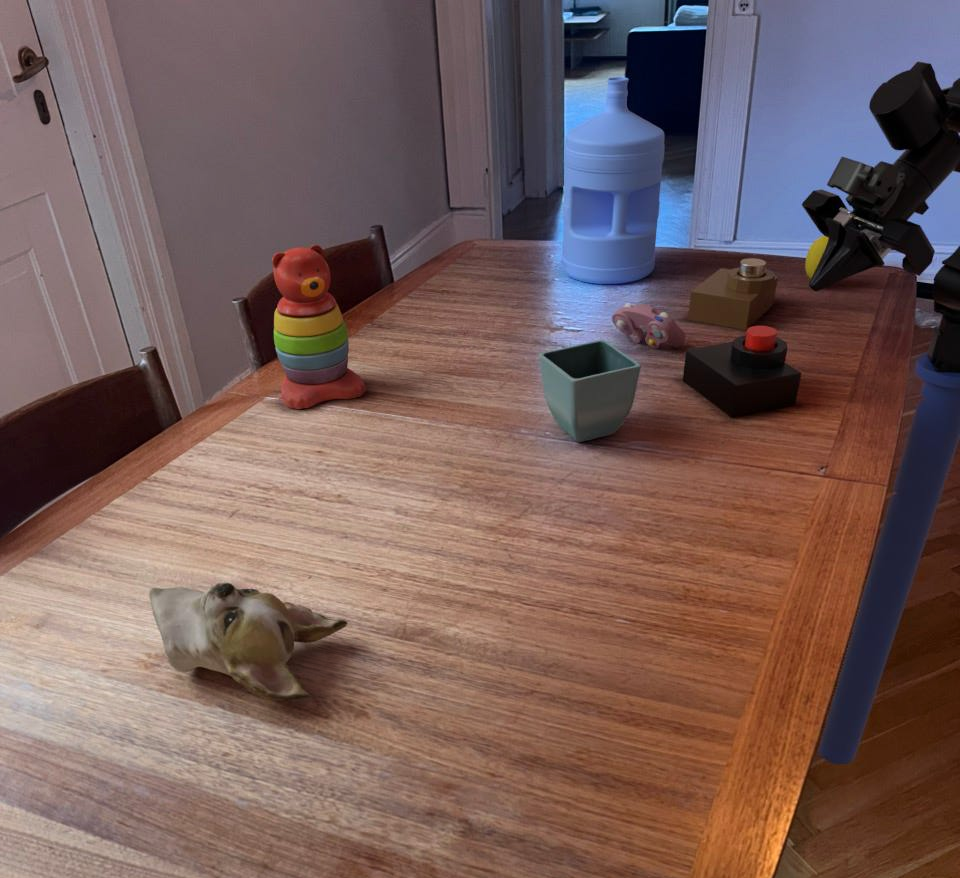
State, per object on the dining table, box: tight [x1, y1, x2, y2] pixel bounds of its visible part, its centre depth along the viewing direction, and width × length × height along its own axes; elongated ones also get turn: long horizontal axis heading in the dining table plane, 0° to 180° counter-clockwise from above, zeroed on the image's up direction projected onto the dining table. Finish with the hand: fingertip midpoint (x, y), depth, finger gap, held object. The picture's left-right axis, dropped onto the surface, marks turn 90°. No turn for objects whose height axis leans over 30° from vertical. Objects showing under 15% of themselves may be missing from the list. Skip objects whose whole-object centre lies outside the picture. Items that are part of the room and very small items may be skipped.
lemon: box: [804, 235, 829, 280], centre depth 143 cm, size 6×6×8 cm
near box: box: [682, 334, 803, 419], centre depth 114 cm, size 10×12×6 cm
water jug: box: [560, 76, 666, 285], centre depth 146 cm, size 16×16×28 cm
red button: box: [745, 325, 778, 351], centre depth 113 cm, size 4×4×2 cm
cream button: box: [738, 257, 767, 278], centre depth 133 cm, size 4×4×2 cm
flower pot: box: [538, 339, 642, 443], centre depth 106 cm, size 9×9×9 cm
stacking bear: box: [271, 244, 367, 410], centre depth 115 cm, size 11×10×18 cm
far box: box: [687, 266, 779, 331], centre depth 136 cm, size 10×12×6 cm
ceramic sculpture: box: [148, 582, 348, 702], centre depth 75 cm, size 11×9×15 cm
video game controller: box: [611, 302, 686, 350], centre depth 128 cm, size 10×5×7 cm, turn 47°
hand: (812, 288), depth 111 cm, fingers closed
